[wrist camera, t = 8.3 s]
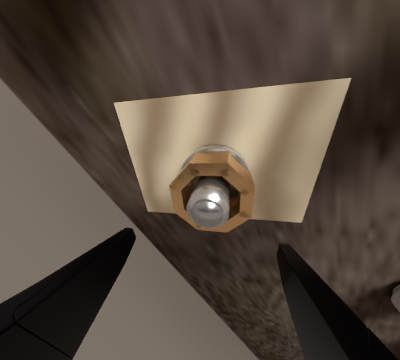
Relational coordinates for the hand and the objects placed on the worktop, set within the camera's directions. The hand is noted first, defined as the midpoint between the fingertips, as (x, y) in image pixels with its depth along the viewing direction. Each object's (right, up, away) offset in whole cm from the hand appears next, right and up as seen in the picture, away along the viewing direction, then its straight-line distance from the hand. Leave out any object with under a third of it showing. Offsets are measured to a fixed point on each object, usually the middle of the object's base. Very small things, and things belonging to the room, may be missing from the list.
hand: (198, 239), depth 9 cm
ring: (+2, +3, +6) cm, 7 cm away
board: (+2, +6, +8) cm, 10 cm away
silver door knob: (+2, +4, +7) cm, 9 cm away
